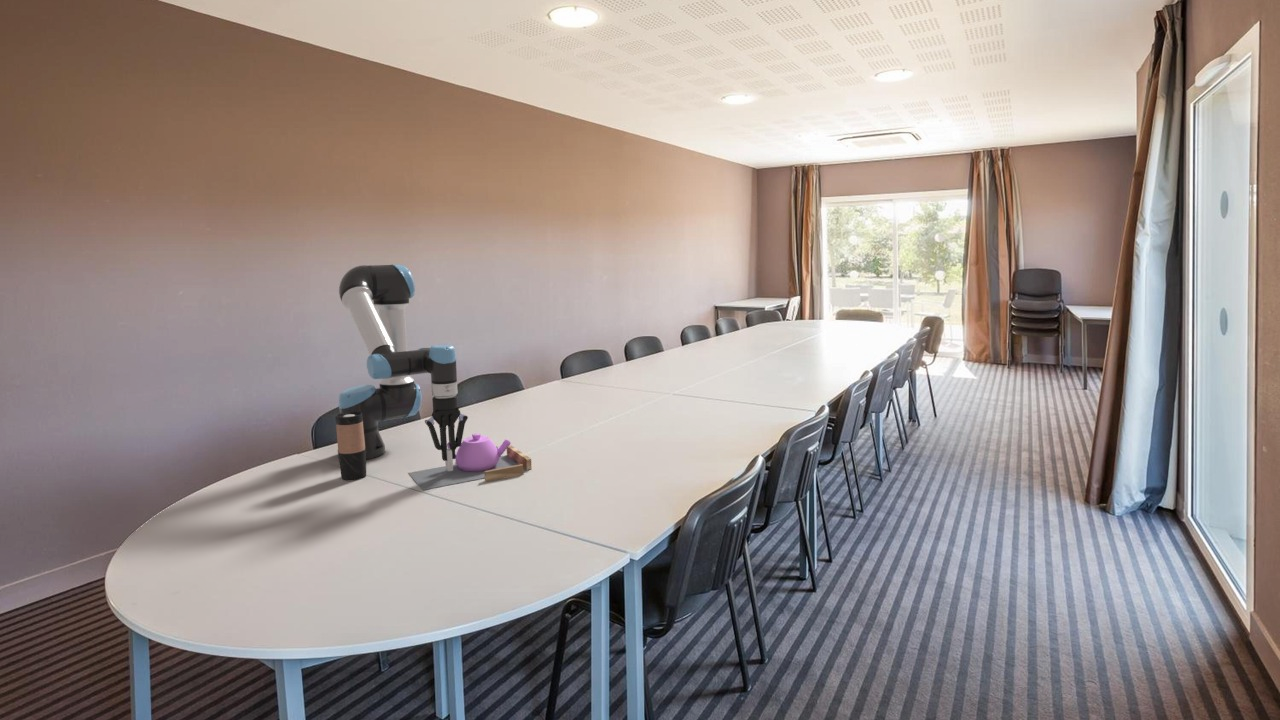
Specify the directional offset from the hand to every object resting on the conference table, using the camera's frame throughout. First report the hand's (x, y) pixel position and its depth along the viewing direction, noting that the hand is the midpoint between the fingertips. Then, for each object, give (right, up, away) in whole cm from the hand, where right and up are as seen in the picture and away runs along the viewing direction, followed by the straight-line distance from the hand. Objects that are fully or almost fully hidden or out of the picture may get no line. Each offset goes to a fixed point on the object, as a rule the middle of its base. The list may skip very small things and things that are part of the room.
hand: (449, 469), depth 201 cm
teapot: (+8, 0, +8) cm, 11 cm away
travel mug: (-29, -2, -1) cm, 29 cm away
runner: (+6, -1, +3) cm, 7 cm away
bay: (+12, 0, +8) cm, 15 cm away
